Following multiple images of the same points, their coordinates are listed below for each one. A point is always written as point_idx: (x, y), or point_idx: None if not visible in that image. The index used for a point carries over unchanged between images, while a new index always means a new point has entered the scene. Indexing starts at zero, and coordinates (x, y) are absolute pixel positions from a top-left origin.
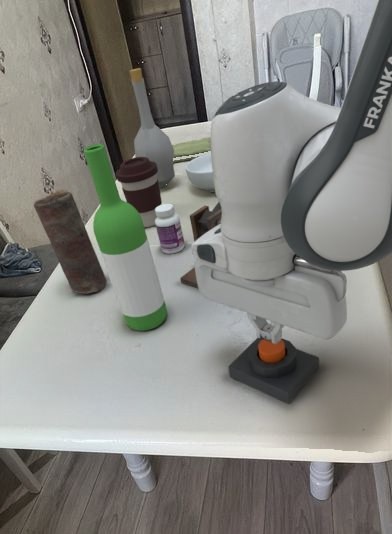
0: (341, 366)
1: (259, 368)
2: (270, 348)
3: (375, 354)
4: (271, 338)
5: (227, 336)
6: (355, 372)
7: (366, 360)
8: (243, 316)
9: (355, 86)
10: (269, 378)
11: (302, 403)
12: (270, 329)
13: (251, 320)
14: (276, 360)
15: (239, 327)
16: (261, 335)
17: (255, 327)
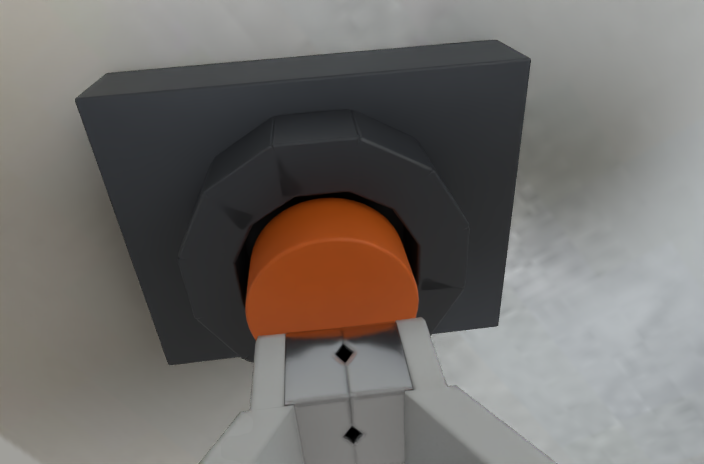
0: (124, 365)
1: (310, 135)
2: (318, 290)
3: (84, 456)
4: (285, 367)
5: (652, 247)
6: (59, 370)
7: (82, 426)
8: (637, 360)
9: None
10: (249, 127)
11: (63, 119)
12: (332, 434)
13: (516, 455)
14: (258, 241)
15: (624, 311)
16: (384, 349)
17: (455, 395)
